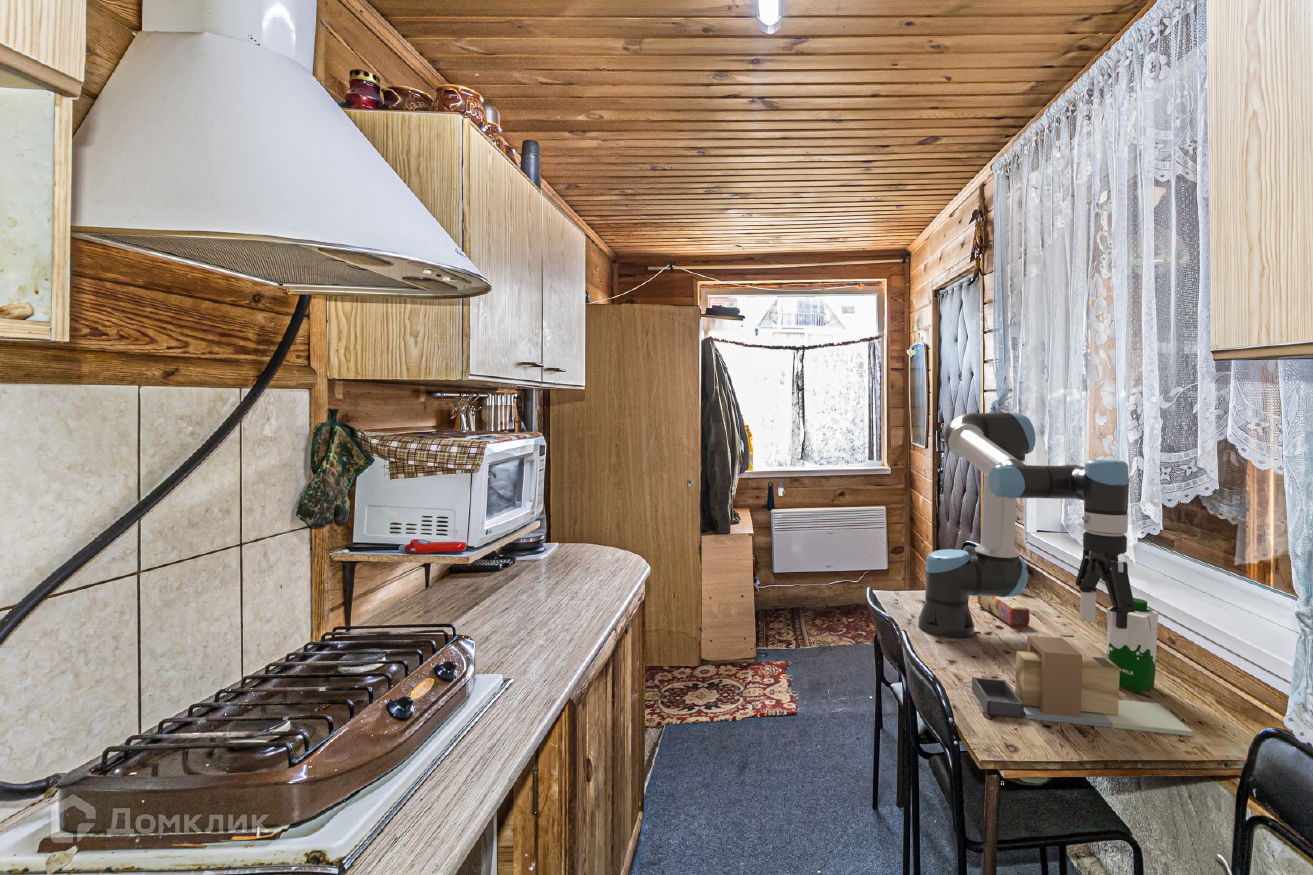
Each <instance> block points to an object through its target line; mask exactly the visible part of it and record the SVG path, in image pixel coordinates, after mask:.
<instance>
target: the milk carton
mask: <svg viewBox="0 0 1313 875" xmlns="http://www.w3.org/2000/svg"><path fill="white" fill-rule="evenodd" d="M1133 601H1134V606H1135V612H1130V613H1128V629H1127V644H1119V643H1111V642H1110V620H1111V611H1110V609H1111V608H1112V607H1113V606H1110V607H1108V608H1106V615H1107V616H1106V617H1107V637H1106V638H1107V639H1106V640H1107V642H1106V643H1107V644H1106V658H1107V659H1109V660H1110V661H1112V662H1113V663H1114V664H1115V665H1117V666H1118V667H1119V668H1120V677H1119V688H1123V689H1126V690H1129V691H1132V692H1134V693H1138V694H1141V693H1144V692H1145V691H1147V690H1149V689H1152V688H1154V687H1155V681H1156V680H1155V679H1156V668H1157V649H1158V648H1157V644H1158V623H1159V611H1155V610H1153V609H1148V601H1147V600H1145V599H1141V598H1137V597H1133Z"/></svg>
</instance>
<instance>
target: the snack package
mask: <svg viewBox="0 0 1313 875" xmlns="http://www.w3.org/2000/svg"><path fill="white" fill-rule="evenodd" d="M977 603H978V605H979V606H980V607H983V608H984V609H985V610H987V611H988V612H990V613H992V615H994V616H997V617H998V618H999V619H1001V621H1004V622H1005V623H1006V624H1007V625H1009V626H1010V627H1013V628H1026V627H1028V626H1029V624H1030V619H1031V618H1030V610H1029V608H1028V607H1026V606H1025V605H1022V604H1020V602H1017V601H1015V600H1014V599H1012V598H1011V597H998V596H977Z"/></svg>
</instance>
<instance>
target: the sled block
mask: <svg viewBox="0 0 1313 875" xmlns="http://www.w3.org/2000/svg"><path fill="white" fill-rule="evenodd" d="M1015 654H1016V655H1015V658H1016V659H1015V660H1016V661H1015V683H1014V684H1015V686H1014V688H1015V689H1014V690H1015V693H1016V695H1017V696H1018V697H1019V699H1020V700H1021V701H1022V702H1023V704H1024V705H1027V706H1037V707H1040V703H1041V670H1042V655H1041V654H1040V653H1035V652H1027V651H1024V650H1023V651H1022V650H1016V653H1015ZM1119 677H1120V668H1119V667H1118V666H1117V665H1115V664H1114V663H1113V662H1112V661H1110V660H1109V659H1107V657H1106V658H1105V657H1099V656H1083V655H1082V684H1081V711H1086V712H1096V713H1106V714H1116V715H1118V705H1119V700H1120V686H1119Z"/></svg>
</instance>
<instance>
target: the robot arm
mask: <svg viewBox="0 0 1313 875" xmlns="http://www.w3.org/2000/svg"><path fill="white" fill-rule="evenodd" d="M943 440H944V443H945V446H946V447H947V449H948V450H949V451H950V452H951V453H952V454H954V455H956V456H957V457H960V458H964V459H965V460H967V461H968V462H969V463H970V464H972V465H973V466H974V467H975V468H977V469H978V470H979V472H980V473H982V474H983V489H982V491H983V492H982V508H981V509H982V512H981V530H980V532H981V534H980V543H979V544H978V545H977V546H975V547H974V555H971V554H970V553H969V552H968V551H966V550H963V549H953V548H949V549H948V548H947V549H939V550H934V551H931V552H930V553H929V554H928V555H927V556H926V561H925V562H926V563H925V567H924V569H925V589H924V590H925V591H924V592H925V596H924V597H925V598H924V599H925V600H924V603H923V606H922V608H921V611H920V614H919V616H918V623H917V624H918V627H919V628H920V630H922V631H924V632H926V633H929V634H931V635H935V636H940V637H945V638H954V639H963V638H970V637H973V635H975V623H974V621H973V620H974V619H973V617H972V613H971V611H970V606H969V596H972V597H973V596H974V597H978V596H998V597H1009V598H1011V597H1017V596H1019V595H1020V594H1021V593H1023V592H1024V590H1025V588H1026V587H1027V584H1028V578H1029V571H1028V569H1027V567H1028V566H1027V563H1026V561H1025V559H1023V557H1020V556H1021V555H1020V552H1019V551H1018V550H1017V549H1016V548H1015V534H1016V533H1015V532H1016V520H1017V519H1016V514H1017V499H1057V500H1058V499H1059V500H1060V499H1061V500H1062V499H1063V500H1064V499H1065V500H1067V499H1068V500H1071V499H1072V500H1079V501H1083V516H1081V519H1082V522H1083V529H1084V532H1083V533H1082V534H1083V535H1082V537H1083V539H1082V548H1083V551H1082V558H1081V562H1080V565H1079V568H1078V572H1077V576H1076V579H1075V585H1076V587H1078V588H1079V591H1080V599H1079V600H1080V605H1079V606H1080V608H1079V621H1080V622H1085V623H1086V622H1087V623H1096V608H1097V606H1096V604H1097V600H1096V599H1097V594H1096V593H1097V592H1098V591H1097V586H1098V584H1099V582H1100V580H1101V581H1103V582H1104V583H1105V587H1106V591H1107V593H1108V596H1109V599H1110V602H1111V605H1112V606H1113V607H1112V608H1111V609H1110V611H1111V620H1110V642H1111V643H1119V644H1127V629H1128V613H1130V612H1135V606H1134V601H1133V598H1134V597H1133V591H1132V588H1131V583H1130V577H1129V570H1128V568H1129V567H1128V566H1129V564H1128V562H1126V561H1119V555H1124V554H1126V553H1127V550H1128V548H1127V547H1128V537H1127V536H1126V534H1127V533H1128V532H1129V531H1128V529H1129V528H1128V526H1129V514H1128V512H1129V489H1130V480H1131V479H1130V477H1129V475H1130V474H1129V464H1128V463H1127V462H1126V461H1122V460H1115V459H1114V460H1113V459H1089V460H1087V461H1086V462H1085V465H1084V466H1083V465H1082V466H1080V465H1078V464H1063V465H1062V464H1061V465H1036V464H1035V465H1033V464H1032V465H1031V464H1030V465H1028V464H1025V463H1024V462H1025V461H1026V455H1028V454H1031V453H1032V452H1033V451H1034V448H1035V446H1036V441H1037V440H1036V432H1035V428H1034V424H1033V423H1032V422H1031V419H1029V417H1027V416H1026V415H1024V414H1022V413H1016V412H1015V413H1014V412H981V413H980V412H968V413H964V414H960V415H958V416H956V417H955V418H953V419H952V420H951V421H949V423H948V424H947V425H946V427H945V429H944V433H943Z"/></svg>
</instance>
